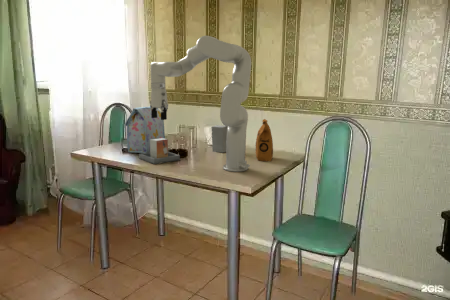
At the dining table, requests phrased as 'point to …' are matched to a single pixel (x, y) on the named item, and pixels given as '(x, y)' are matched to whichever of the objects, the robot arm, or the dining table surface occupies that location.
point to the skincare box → (219, 138)
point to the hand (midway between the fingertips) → (159, 118)
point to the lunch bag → (143, 129)
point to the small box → (158, 148)
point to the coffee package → (264, 143)
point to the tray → (159, 160)
